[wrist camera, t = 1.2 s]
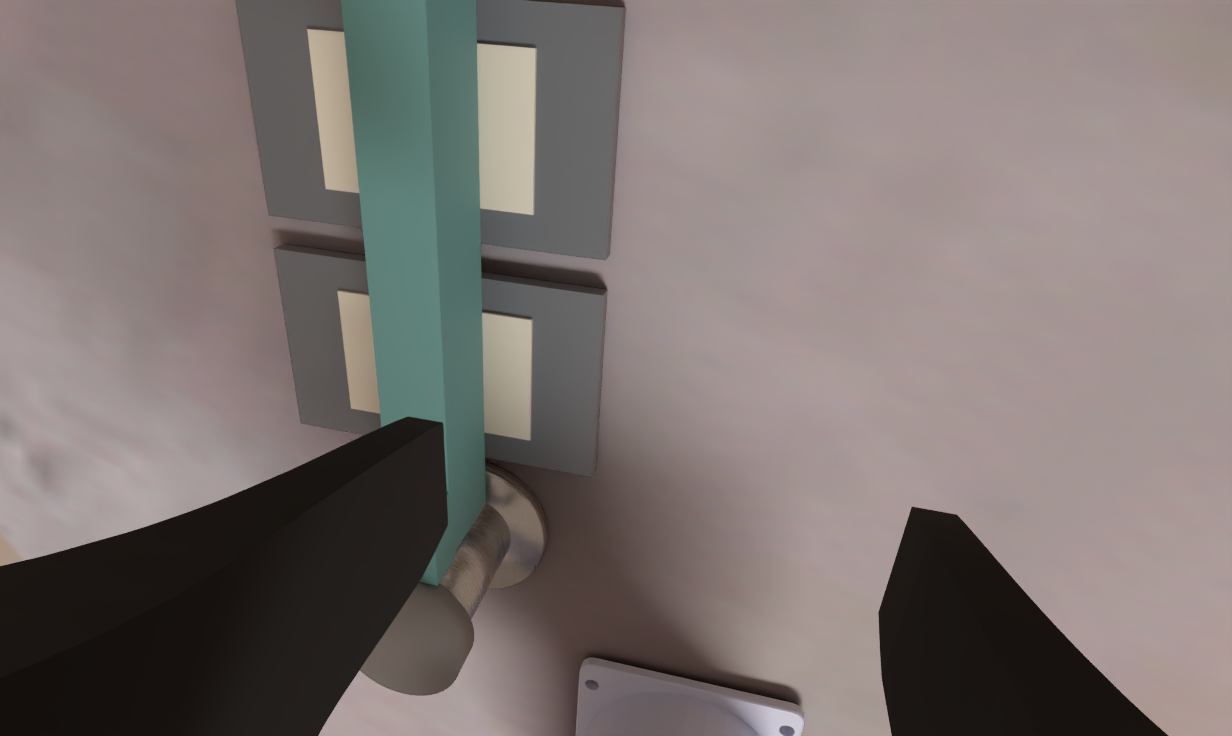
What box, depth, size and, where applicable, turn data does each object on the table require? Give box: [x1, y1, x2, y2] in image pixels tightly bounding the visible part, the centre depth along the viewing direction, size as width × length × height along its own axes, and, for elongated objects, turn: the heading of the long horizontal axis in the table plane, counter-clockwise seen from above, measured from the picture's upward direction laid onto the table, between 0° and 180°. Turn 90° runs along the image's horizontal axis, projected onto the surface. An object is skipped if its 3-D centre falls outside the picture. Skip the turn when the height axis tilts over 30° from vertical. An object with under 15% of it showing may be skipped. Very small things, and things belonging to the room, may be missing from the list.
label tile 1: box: [236, 0, 626, 260], centre depth 18 cm, size 6×10×1 cm, turn 86°
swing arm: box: [341, 0, 486, 695], centre depth 18 cm, size 19×4×4 cm, turn 176°
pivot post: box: [439, 462, 548, 619], centre depth 22 cm, size 5×5×4 cm
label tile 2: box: [274, 244, 607, 477], centre depth 22 cm, size 6×10×1 cm, turn 86°
